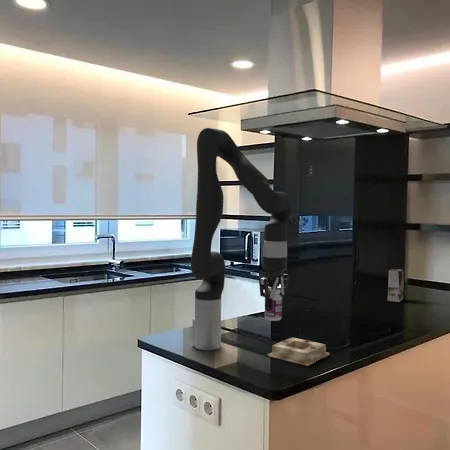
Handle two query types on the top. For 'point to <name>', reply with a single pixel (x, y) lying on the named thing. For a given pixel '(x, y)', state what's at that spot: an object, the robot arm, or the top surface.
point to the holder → (299, 351)
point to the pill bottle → (275, 307)
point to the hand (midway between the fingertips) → (273, 308)
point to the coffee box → (395, 285)
